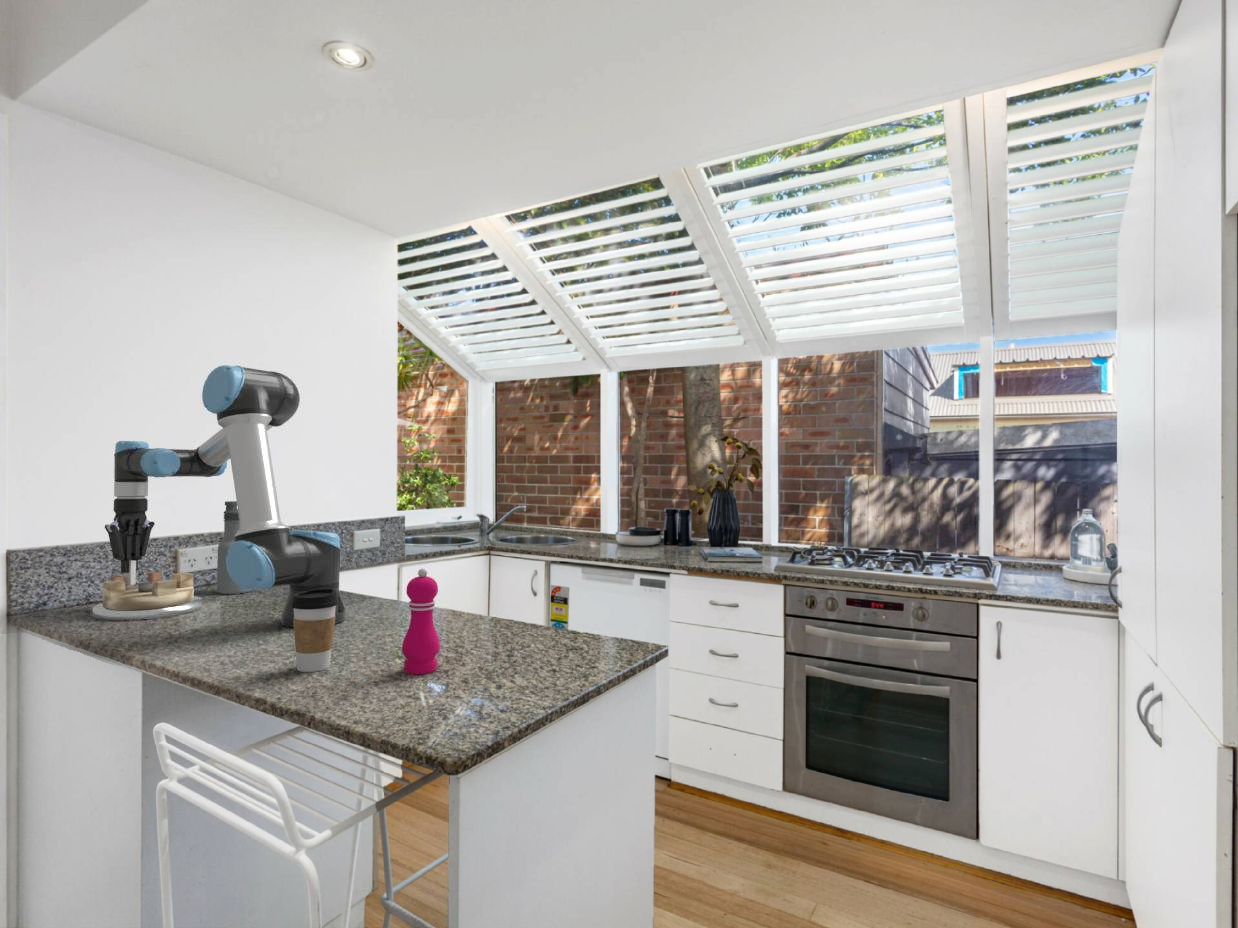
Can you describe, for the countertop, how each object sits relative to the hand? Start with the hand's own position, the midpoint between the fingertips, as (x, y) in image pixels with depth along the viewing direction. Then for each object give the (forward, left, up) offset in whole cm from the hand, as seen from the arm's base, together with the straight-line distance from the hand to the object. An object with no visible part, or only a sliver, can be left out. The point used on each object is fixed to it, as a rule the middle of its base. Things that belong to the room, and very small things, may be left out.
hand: (129, 584), depth 185 cm
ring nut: (-8, -3, -4) cm, 9 cm away
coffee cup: (-88, -16, -7) cm, 89 cm away
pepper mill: (-103, -31, -7) cm, 107 cm away
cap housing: (-8, -3, -6) cm, 10 cm away
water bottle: (+7, -28, -7) cm, 30 cm away
